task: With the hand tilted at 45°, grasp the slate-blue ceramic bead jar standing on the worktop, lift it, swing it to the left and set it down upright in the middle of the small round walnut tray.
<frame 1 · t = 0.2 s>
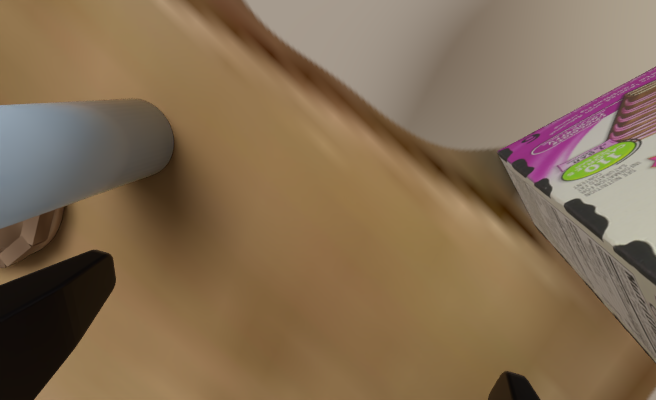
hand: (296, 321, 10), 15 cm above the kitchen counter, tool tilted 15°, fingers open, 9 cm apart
candy bar box: (616, 133, 22), on the kitchen counter
bead jar: (137, 138, 26), on the kitchen counter
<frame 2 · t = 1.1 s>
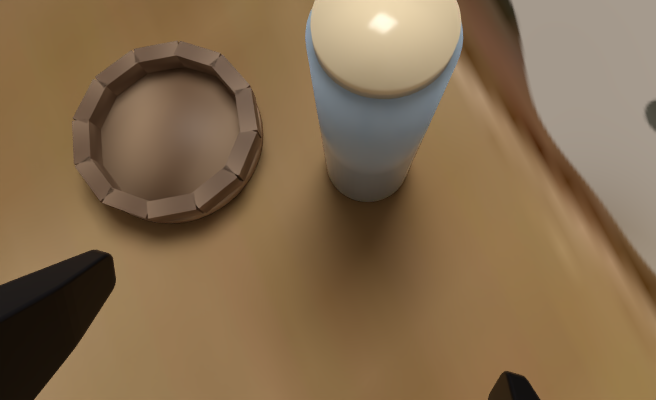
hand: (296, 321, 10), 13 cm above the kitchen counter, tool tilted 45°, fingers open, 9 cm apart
walnut tray: (177, 138, 25), on the kitchen counter
bead jar: (367, 162, 24), on the kitchen counter
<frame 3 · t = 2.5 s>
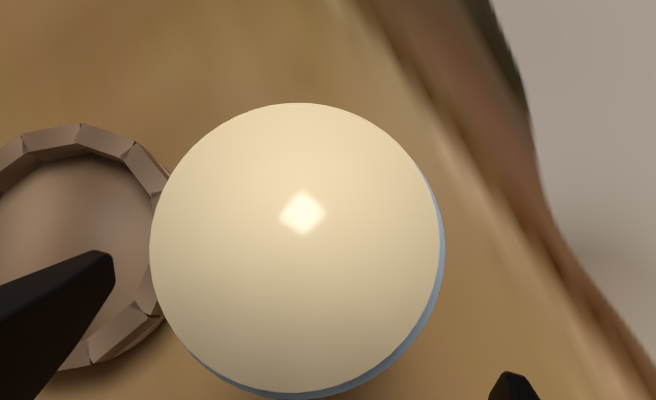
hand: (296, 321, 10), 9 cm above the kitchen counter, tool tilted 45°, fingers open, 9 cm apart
walnut tray: (83, 247, 19), on the kitchen counter
bead jar: (329, 283, 18), on the kitchen counter
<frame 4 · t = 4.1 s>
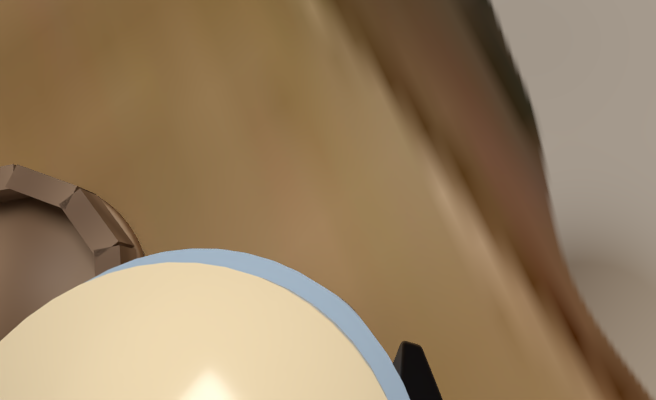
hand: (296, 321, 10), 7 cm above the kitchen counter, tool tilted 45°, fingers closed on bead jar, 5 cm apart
walnut tray: (21, 307, 17), on the kitchen counter
bead jar: (306, 352, 16), on the kitchen counter, touching gripper
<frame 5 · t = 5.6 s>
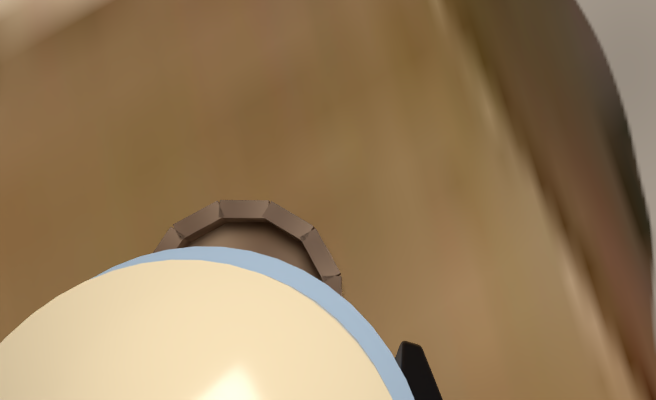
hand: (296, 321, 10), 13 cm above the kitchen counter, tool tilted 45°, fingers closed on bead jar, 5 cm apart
walnut tray: (247, 300, 23), on the kitchen counter
bead jar: (308, 352, 16), point 7 cm above the kitchen counter, touching gripper
when the fingers open (9 cm above the kitchen counter, at t = 7.4 s): bead jar drops 1 cm, resting on walnut tray.
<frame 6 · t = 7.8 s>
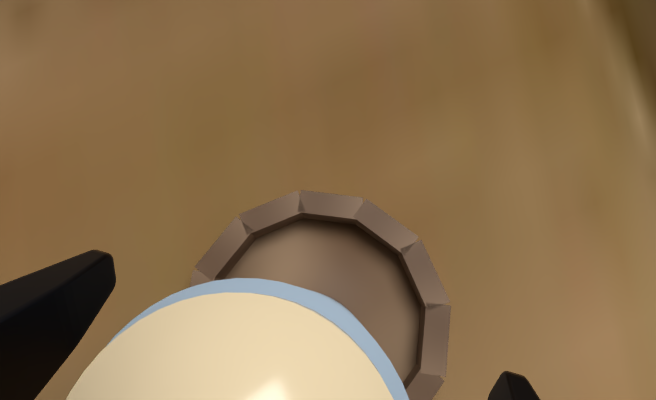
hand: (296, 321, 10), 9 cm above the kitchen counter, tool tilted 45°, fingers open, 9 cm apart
walnut tray: (318, 319, 18), on the kitchen counter
bead jar: (307, 351, 17), point 1 cm above the kitchen counter, touching walnut tray
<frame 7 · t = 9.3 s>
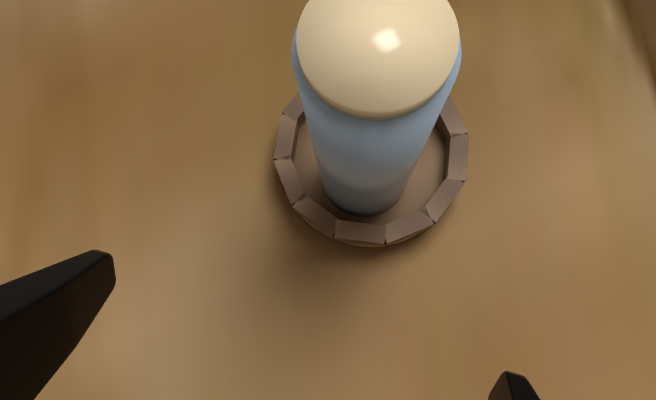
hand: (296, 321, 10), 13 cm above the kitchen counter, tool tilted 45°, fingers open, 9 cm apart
walnut tray: (368, 158, 25), on the kitchen counter
bead jar: (363, 175, 24), point 1 cm above the kitchen counter, touching walnut tray
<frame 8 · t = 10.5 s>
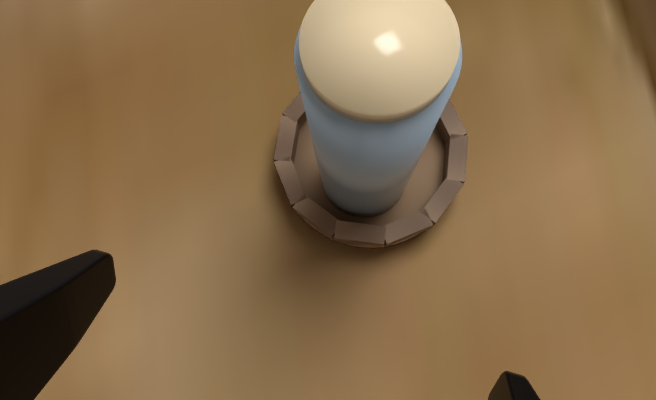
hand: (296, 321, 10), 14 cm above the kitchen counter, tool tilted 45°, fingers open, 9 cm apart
walnut tray: (368, 159, 25), on the kitchen counter
bead jar: (363, 176, 24), point 1 cm above the kitchen counter, touching walnut tray
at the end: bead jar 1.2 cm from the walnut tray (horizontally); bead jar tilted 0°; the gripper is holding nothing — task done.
